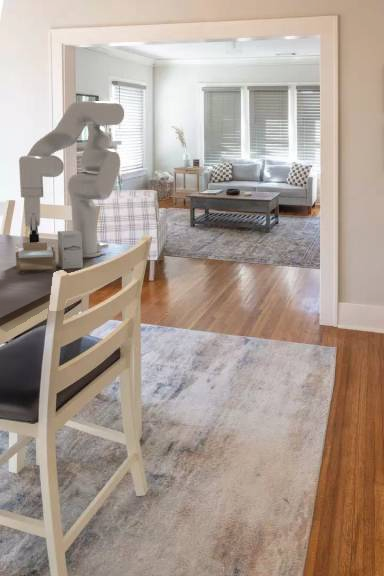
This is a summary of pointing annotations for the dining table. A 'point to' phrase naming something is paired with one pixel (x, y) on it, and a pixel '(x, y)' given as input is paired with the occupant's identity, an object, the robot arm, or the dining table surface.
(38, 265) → the box
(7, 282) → the dining table surface
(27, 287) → the dining table surface
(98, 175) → the robot arm
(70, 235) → the supplement box
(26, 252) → the lid
